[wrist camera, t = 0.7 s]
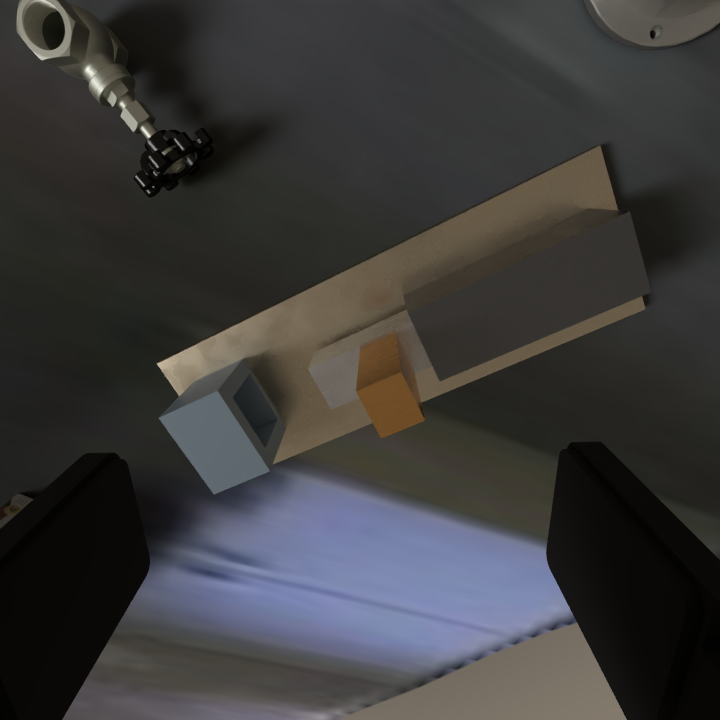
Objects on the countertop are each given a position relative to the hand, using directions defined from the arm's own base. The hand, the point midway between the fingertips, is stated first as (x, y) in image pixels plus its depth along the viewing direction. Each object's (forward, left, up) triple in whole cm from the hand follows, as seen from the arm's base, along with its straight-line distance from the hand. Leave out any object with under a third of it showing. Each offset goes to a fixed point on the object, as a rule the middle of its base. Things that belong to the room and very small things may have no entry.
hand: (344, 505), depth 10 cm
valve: (+10, -19, -31) cm, 38 cm away
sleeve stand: (+1, +6, -30) cm, 31 cm away
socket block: (+16, +6, -29) cm, 34 cm away
